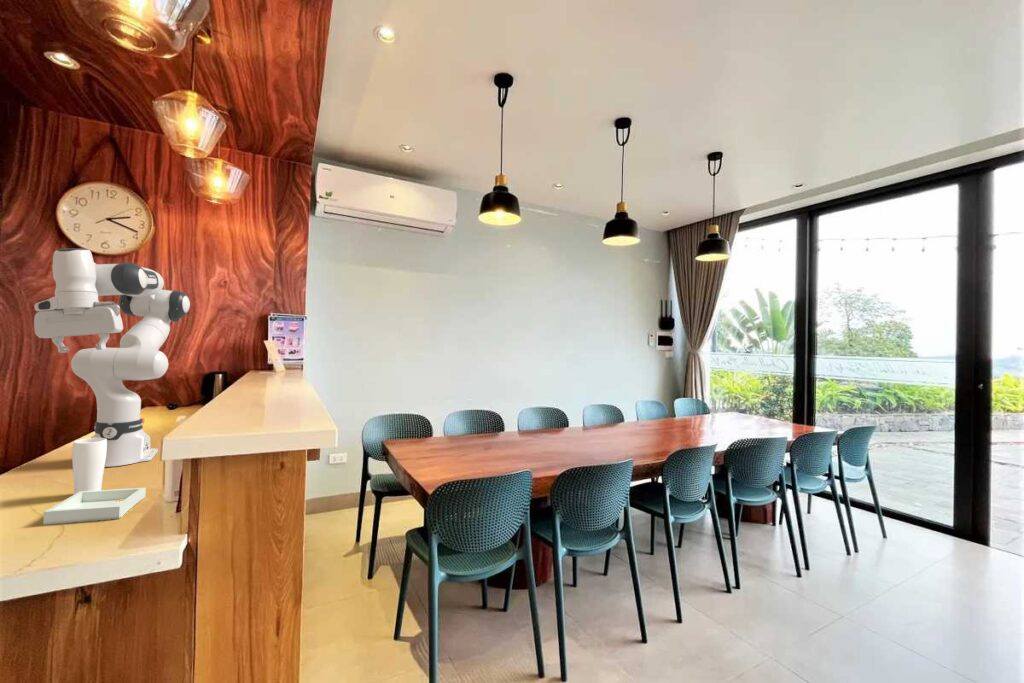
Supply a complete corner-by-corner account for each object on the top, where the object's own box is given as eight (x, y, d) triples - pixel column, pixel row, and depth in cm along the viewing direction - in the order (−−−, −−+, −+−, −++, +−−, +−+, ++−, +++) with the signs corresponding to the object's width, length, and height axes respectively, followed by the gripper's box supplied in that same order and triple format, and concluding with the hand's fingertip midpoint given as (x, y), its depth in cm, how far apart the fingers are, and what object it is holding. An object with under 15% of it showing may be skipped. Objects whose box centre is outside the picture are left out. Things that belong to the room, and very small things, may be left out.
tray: (79, 502, 113) (79, 491, 113) (145, 498, 118) (145, 487, 118) (43, 524, 100) (43, 511, 100) (119, 518, 105) (119, 506, 105)
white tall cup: (104, 489, 123) (106, 436, 123) (105, 496, 118) (107, 441, 118) (70, 494, 118) (72, 439, 118) (69, 501, 114) (72, 444, 114)
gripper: (126, 301, 130) (130, 347, 130) (47, 307, 127) (52, 354, 127) (110, 299, 124) (115, 347, 124) (27, 305, 121) (31, 354, 121)
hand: (82, 351), depth 126 cm, fingers open, 8 cm apart
